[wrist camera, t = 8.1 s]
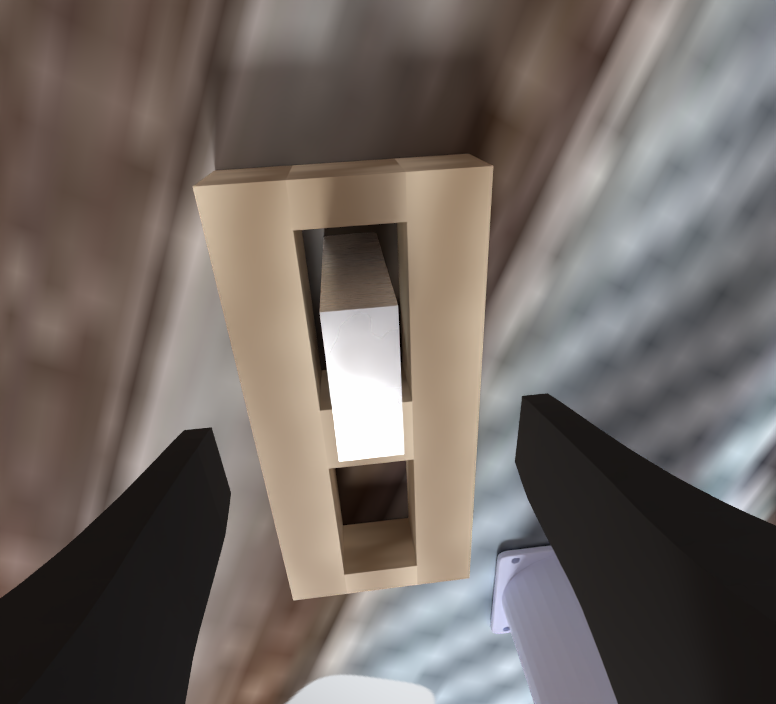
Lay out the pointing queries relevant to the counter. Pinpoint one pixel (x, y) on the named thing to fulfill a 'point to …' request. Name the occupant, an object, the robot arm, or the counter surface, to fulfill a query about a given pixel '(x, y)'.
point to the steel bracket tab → (361, 347)
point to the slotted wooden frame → (311, 385)
